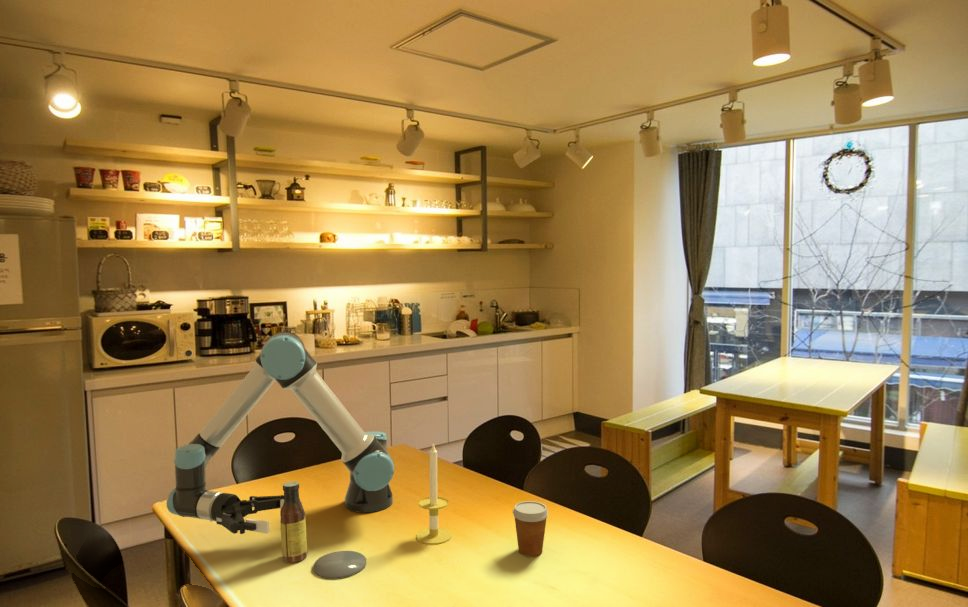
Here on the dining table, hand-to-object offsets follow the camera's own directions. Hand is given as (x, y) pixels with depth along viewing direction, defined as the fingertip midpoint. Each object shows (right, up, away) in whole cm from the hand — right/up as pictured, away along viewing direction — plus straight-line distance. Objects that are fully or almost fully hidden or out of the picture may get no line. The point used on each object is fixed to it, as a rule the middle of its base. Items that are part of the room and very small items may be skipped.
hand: (285, 517), depth 157 cm
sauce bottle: (+2, -11, 0) cm, 11 cm away
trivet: (+15, -11, -4) cm, 19 cm away
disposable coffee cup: (+64, -11, +4) cm, 65 cm away
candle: (+38, -10, +13) cm, 41 cm away
